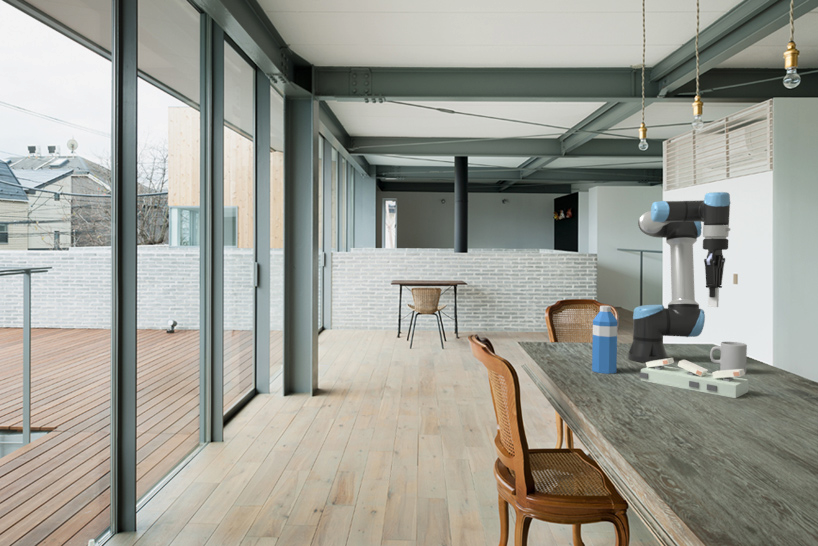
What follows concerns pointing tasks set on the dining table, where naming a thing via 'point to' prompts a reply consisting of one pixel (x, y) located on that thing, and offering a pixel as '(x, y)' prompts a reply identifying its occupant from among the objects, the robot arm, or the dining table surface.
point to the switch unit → (695, 381)
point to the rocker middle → (692, 367)
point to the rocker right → (728, 373)
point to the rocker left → (660, 362)
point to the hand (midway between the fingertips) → (713, 306)
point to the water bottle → (604, 342)
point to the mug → (731, 355)
